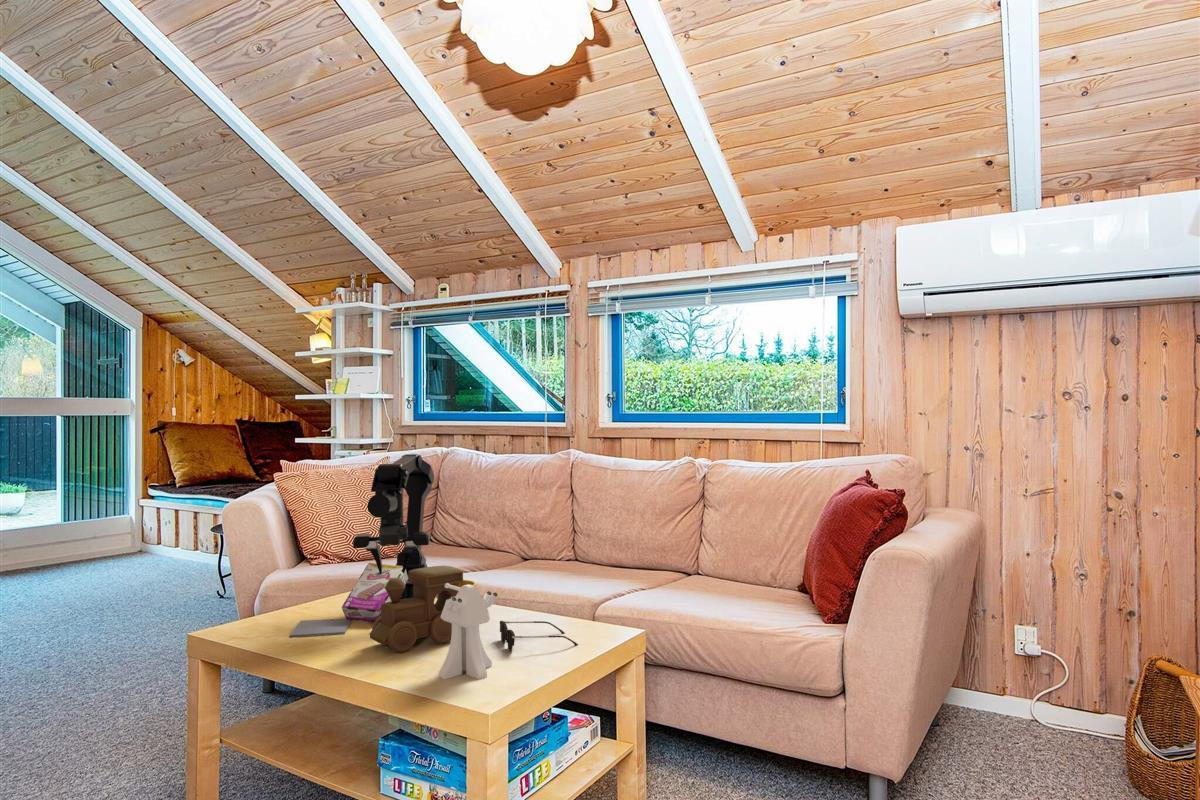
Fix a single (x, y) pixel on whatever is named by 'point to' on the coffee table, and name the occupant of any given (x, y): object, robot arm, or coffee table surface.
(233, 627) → the coffee table surface
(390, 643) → the wooden toy train
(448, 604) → the toy gun turret
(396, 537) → the robot arm
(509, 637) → the sunglasses
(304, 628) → the mat
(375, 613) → the candy bar box
